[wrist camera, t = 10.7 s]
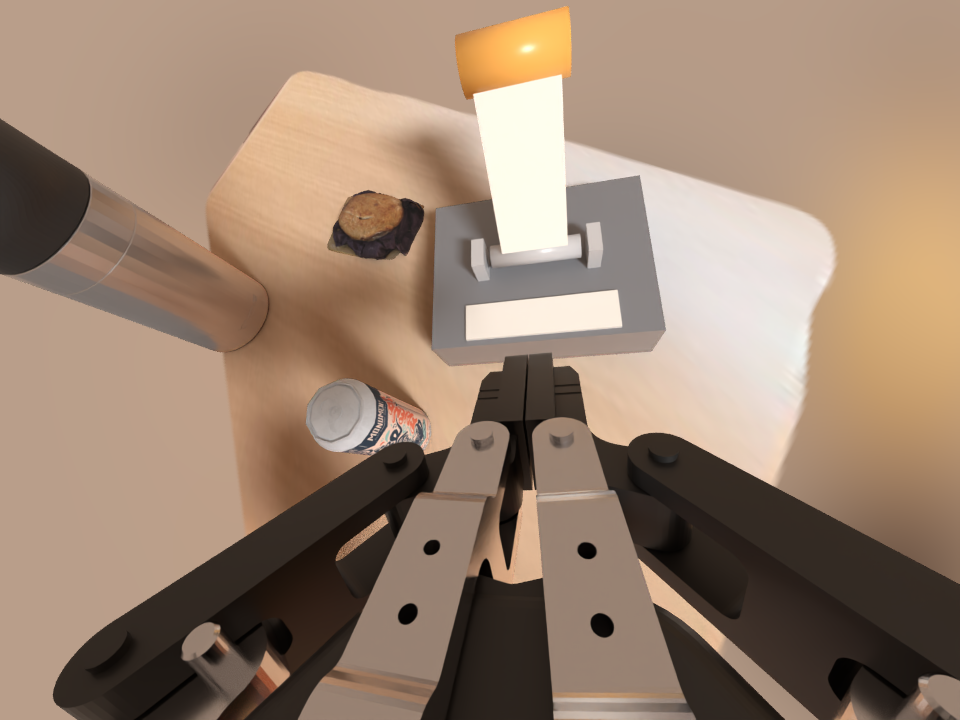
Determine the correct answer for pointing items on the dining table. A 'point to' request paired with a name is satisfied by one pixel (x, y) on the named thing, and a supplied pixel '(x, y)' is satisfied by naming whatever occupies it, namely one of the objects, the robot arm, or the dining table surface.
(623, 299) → the block
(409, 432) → the beer can
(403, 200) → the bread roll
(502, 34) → the breaker lever
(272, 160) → the dining table surface
